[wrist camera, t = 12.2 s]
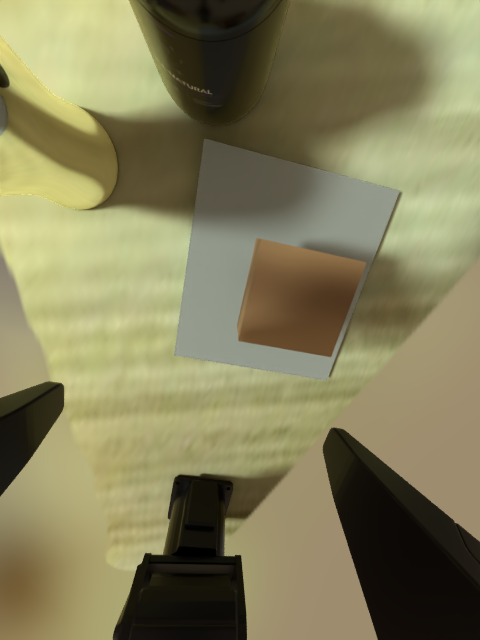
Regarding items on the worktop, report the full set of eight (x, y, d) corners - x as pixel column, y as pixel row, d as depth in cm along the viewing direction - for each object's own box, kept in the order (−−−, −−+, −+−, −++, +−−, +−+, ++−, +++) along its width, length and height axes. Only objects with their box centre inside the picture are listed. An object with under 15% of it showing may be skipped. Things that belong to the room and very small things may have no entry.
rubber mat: (324, 376, 23) (326, 380, 22) (175, 352, 21) (174, 355, 21) (394, 191, 18) (400, 190, 17) (205, 141, 16) (204, 138, 16)
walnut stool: (300, 319, 20) (331, 357, 14) (235, 307, 19) (238, 341, 13) (320, 252, 18) (366, 262, 12) (250, 237, 18) (261, 238, 12)
